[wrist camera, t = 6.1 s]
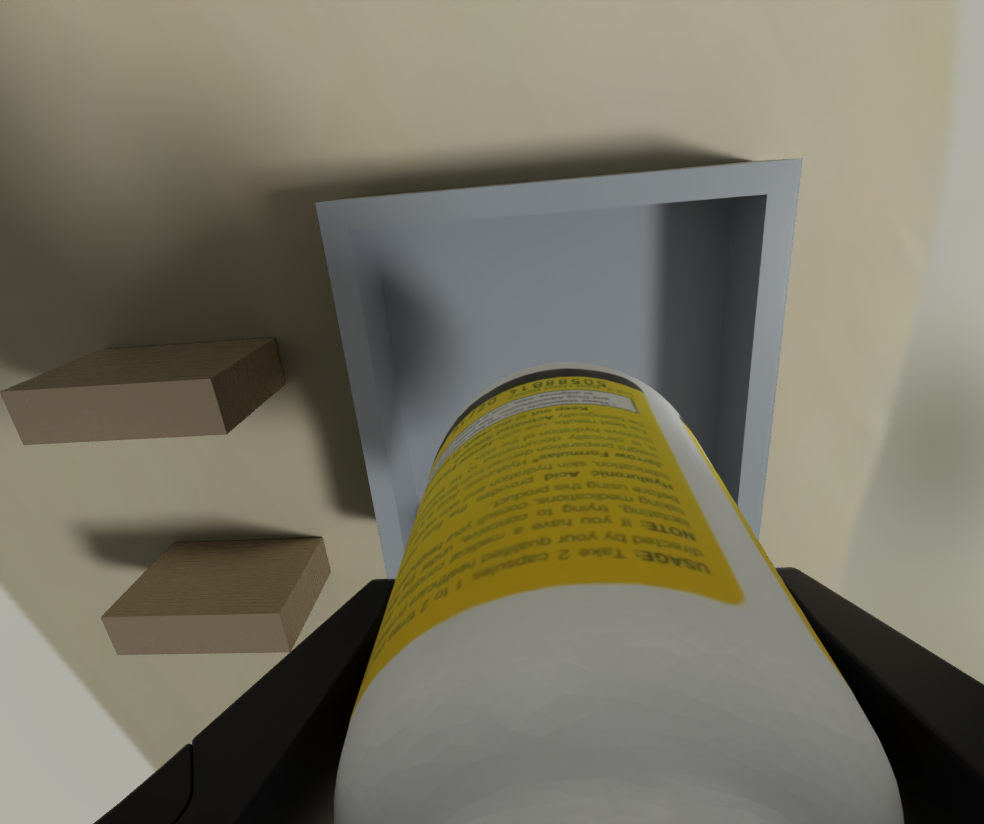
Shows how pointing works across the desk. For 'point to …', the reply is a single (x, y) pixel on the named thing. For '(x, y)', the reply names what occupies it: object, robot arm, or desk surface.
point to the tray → (564, 308)
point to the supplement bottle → (597, 637)
